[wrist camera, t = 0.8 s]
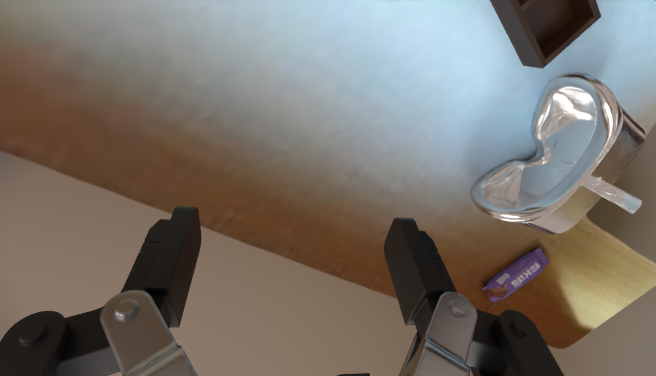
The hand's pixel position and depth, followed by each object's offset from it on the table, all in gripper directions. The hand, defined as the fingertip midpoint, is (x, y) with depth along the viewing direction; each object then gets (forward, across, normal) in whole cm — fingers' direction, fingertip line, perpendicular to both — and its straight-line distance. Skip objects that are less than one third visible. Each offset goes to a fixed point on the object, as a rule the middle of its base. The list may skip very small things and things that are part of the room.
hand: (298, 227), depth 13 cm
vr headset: (+26, -32, +9) cm, 42 cm away
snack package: (+21, -40, +30) cm, 55 cm away
